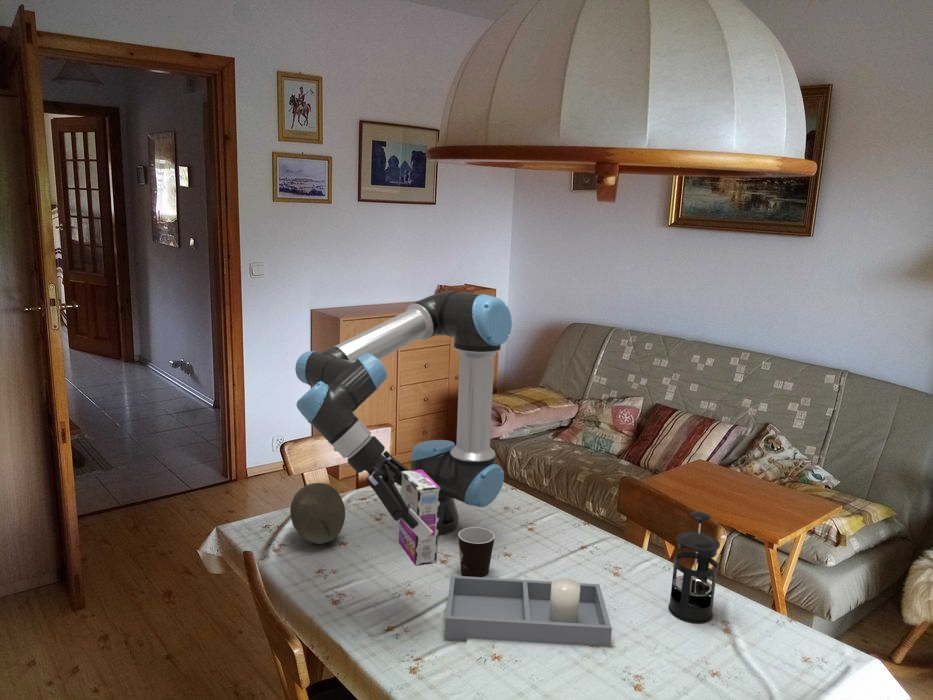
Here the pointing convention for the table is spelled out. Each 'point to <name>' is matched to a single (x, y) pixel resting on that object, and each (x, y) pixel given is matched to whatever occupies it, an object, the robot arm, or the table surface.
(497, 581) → the grey divided tray
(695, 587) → the french press
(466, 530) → the coffee mug
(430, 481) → the candy bar box
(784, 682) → the table surface
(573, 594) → the cream cylinder
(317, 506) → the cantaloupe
